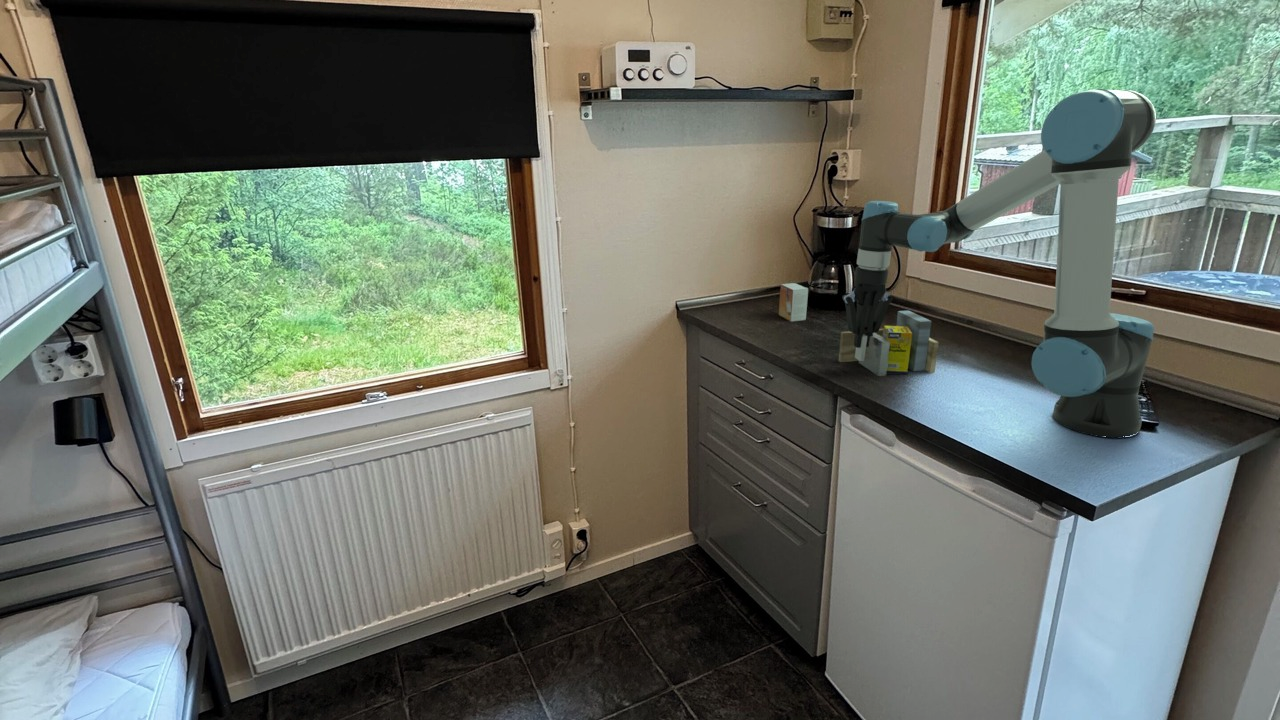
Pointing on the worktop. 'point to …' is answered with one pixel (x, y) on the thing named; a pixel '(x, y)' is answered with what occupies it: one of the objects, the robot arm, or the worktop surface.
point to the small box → (793, 302)
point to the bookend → (876, 355)
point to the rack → (921, 344)
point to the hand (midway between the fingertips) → (859, 359)
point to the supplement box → (898, 348)
